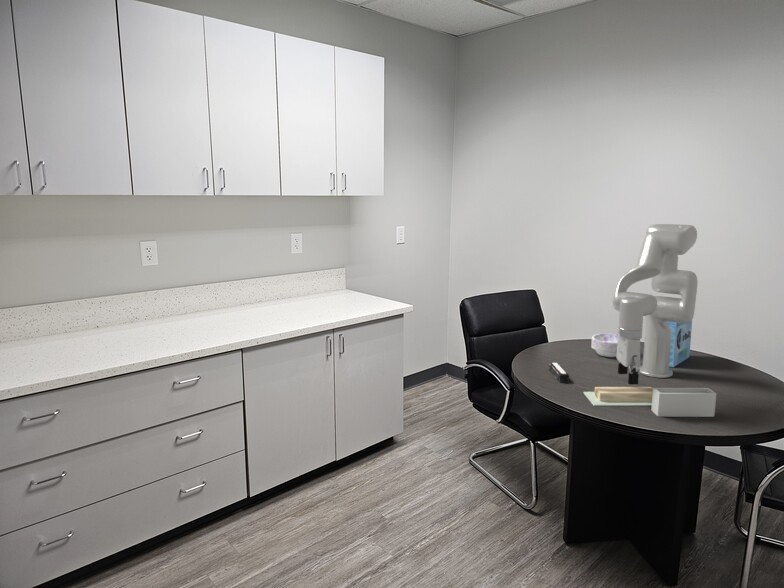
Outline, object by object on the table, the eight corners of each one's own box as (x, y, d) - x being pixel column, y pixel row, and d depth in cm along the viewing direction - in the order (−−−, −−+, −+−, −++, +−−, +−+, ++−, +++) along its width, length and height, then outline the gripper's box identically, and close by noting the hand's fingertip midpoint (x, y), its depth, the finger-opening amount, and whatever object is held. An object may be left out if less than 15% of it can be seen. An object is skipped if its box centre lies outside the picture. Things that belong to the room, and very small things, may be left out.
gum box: (673, 367, 220) (678, 314, 216) (660, 365, 224) (664, 312, 219) (689, 357, 233) (694, 306, 229) (677, 354, 237) (681, 305, 232)
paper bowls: (591, 358, 235) (592, 341, 233) (590, 348, 249) (591, 332, 248) (628, 360, 230) (630, 343, 229) (625, 350, 244) (626, 334, 243)
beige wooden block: (594, 394, 192) (594, 386, 191) (650, 394, 191) (651, 386, 190) (599, 401, 186) (600, 393, 186) (658, 401, 185) (658, 393, 184)
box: (651, 410, 179) (653, 387, 177) (706, 410, 178) (708, 387, 176) (657, 416, 174) (659, 393, 172) (714, 416, 173) (716, 393, 171)
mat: (583, 393, 195) (583, 391, 195) (655, 393, 194) (655, 391, 193) (593, 405, 183) (593, 404, 183) (670, 406, 182) (670, 404, 182)
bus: (550, 387, 203) (550, 376, 202) (533, 366, 228) (534, 356, 227) (588, 386, 203) (588, 376, 202) (567, 365, 227) (567, 356, 227)
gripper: (610, 326, 193) (608, 370, 196) (628, 340, 176) (626, 388, 179) (631, 325, 192) (629, 369, 196) (651, 339, 175) (648, 388, 179)
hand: (627, 378), depth 188 cm, fingers open, 9 cm apart
